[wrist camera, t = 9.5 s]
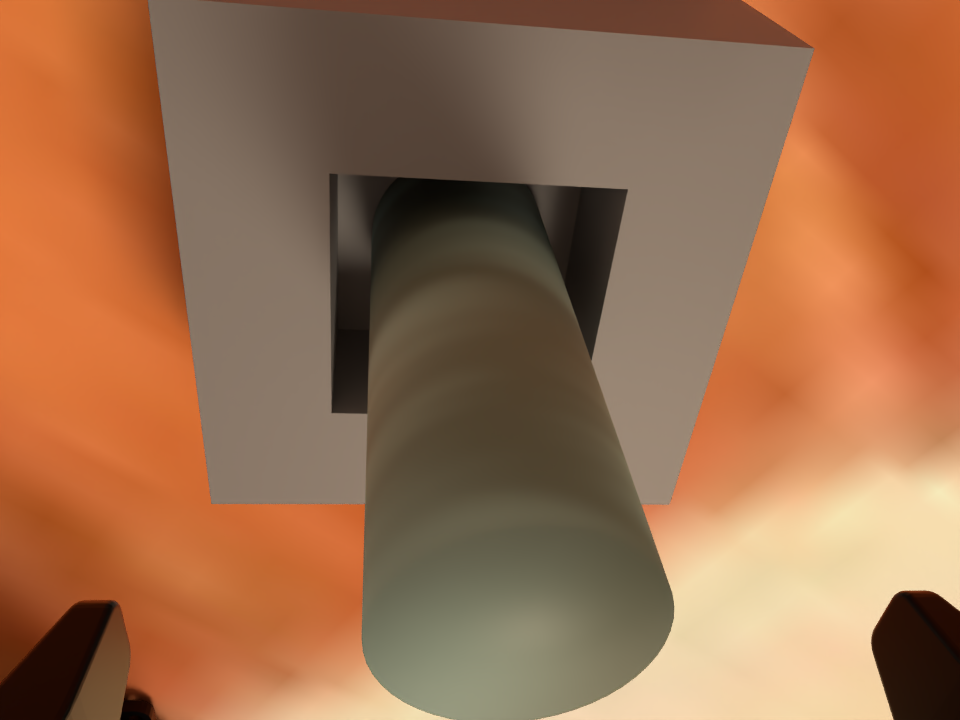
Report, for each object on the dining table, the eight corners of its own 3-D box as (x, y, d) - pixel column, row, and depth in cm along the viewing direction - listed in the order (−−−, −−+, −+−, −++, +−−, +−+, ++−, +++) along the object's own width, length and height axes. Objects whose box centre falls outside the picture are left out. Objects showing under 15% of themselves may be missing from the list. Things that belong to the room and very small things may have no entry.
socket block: (238, 387, 21) (211, 503, 17) (198, -54, 15) (147, -4, 12) (627, 395, 22) (669, 504, 19) (728, -8, 16) (814, 48, 13)
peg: (370, 304, 18) (359, 728, 10) (374, 149, 16) (363, 525, 8) (529, 309, 19) (638, 718, 11) (552, 159, 17) (708, 525, 9)
